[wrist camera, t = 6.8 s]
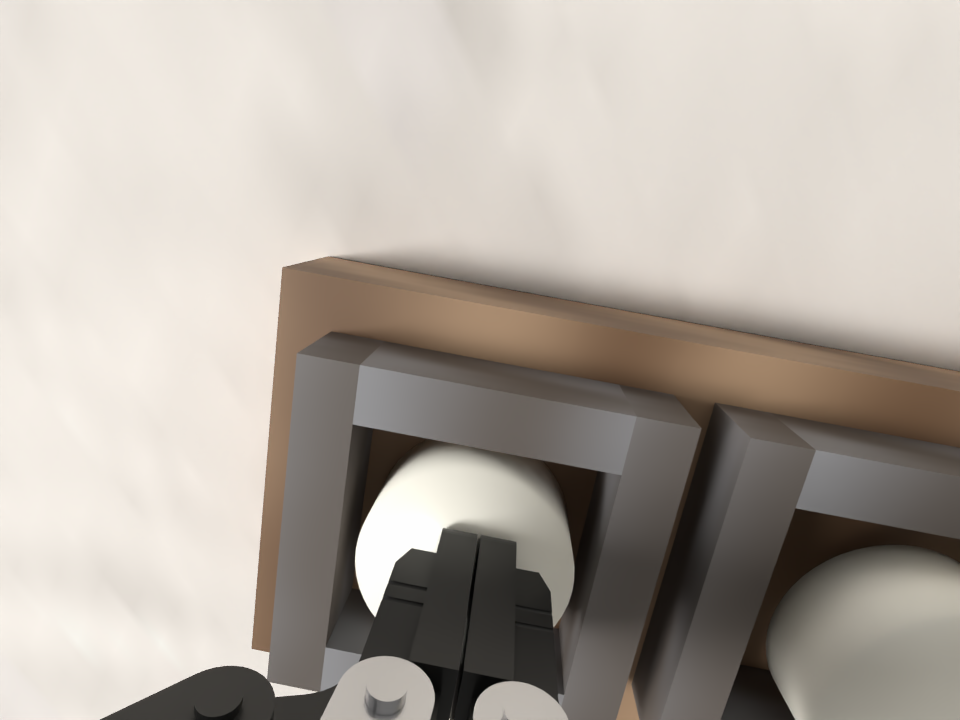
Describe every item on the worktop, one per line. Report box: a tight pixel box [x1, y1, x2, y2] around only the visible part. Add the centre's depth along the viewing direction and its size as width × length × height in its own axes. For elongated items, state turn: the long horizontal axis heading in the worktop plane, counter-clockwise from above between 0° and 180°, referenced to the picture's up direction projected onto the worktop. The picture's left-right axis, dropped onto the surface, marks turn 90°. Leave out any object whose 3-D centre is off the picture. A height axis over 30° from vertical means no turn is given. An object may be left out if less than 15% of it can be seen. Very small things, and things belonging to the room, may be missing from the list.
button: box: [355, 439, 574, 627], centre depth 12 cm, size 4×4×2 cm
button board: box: [252, 257, 960, 720], centre depth 14 cm, size 27×10×5 cm, turn 80°
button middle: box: [766, 545, 960, 720], centre depth 11 cm, size 4×4×2 cm
